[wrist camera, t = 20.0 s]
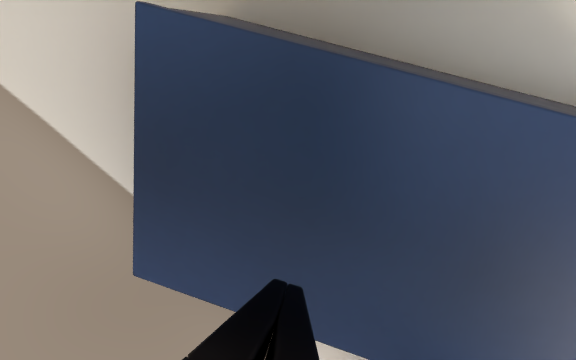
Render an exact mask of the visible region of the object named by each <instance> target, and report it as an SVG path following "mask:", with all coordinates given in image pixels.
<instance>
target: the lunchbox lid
mask: <svg viewBox="0 0 576 360" xmlns="http://www.w3.org/2000/svg"><path fill="white" fill-rule="evenodd" d="M133 217H134V218H133V226H134V228H133V275H134V276H136V277H139V278H142V279H145V280H147V281H151V282H154V283H156V284H159V285H162V286H165V287H167V288H170V289H173V290H175V291H178V292H181V293H184V294H187V295H189V296H192V297H195V298H198V299H201V300H204V301H206V302H209V303H212V304H215V305H218V306H220V307H223V308H226V309H229V310H232V311H234V312H237V311H238V310H239V309H240V308H241V307H242V306H243V305H245V304H246V303H247V302H248V301H249V300H250V299H251V298H252V297H254V296H255V295H256V294H257V293H258V292H259V291H260V290H261V289H263V288H264V287H265V286H266V285H267V284H268V283H269V282H270V281H272V280H273V279H275V278H276V279H279V280H282V281H285V282H287V284H294V285H297V286H299V287H302V289H303V291H304V296H305V300H306V304H307V309H308V313H309V317H310V322H311V326H312V330H313V335H314V339H315V340H316V341H318V342H321V343H324V344H327V345H330V346H332V347H335V348H338V349H341V350H344V351H346V352H349V353H352V354H355V355H358V356H360V357H363V358H366V359H369V360H576V115H575V114H571V113H567V112H563V111H559V110H556V109H552V108H548V107H544V106H540V105H536V104H533V103H529V102H525V101H521V100H517V99H514V98H510V97H506V96H502V95H498V94H494V93H491V92H487V91H483V90H479V89H475V88H472V87H468V86H464V85H460V84H456V83H452V82H449V81H445V80H441V79H437V78H433V77H430V76H426V75H422V74H418V73H414V72H410V71H407V70H403V69H399V68H395V67H391V66H388V65H384V64H380V63H376V62H372V61H369V60H365V59H361V58H357V57H353V56H349V55H346V54H342V53H338V52H334V51H330V50H327V49H323V48H319V47H315V46H311V45H307V44H304V43H300V42H296V41H292V40H288V39H285V38H281V37H277V36H273V35H269V34H265V33H262V32H258V31H254V30H250V29H246V28H243V27H239V26H235V25H231V24H227V23H224V22H220V21H216V20H212V19H208V18H204V17H201V16H197V15H193V14H189V13H185V12H182V11H178V10H174V9H170V8H166V7H162V6H159V5H155V4H151V3H147V2H140V1H137V2H136V3H135V101H134V216H133ZM287 286H288V285H287ZM284 296H285V295H284Z"/></svg>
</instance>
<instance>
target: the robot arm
mask: <svg viewBox="0 0 576 360" xmlns="http://www.w3.org/2000/svg"><path fill="white" fill-rule="evenodd" d="M287 285H288V286H287ZM284 295H285V296H284ZM272 334H273V335H272ZM271 337H272V338H271ZM268 347H269V348H268ZM267 350H268V351H267ZM265 357H266V358H265ZM182 360H319V356H318V352H317V347H316V343H315V339H314V335H313V330H312V326H311V322H310V317H309V313H308V309H307V304H306V300H305V296H304V291H303V289H302V287H299V286H297V285H294V284H287V282H285V281H282V280H279V279H276V278H275V279H273V280H272V281H270V282H269V283H268V284H267V285H266V286H265V287H264V288H263V289H261V290H260V291H259V292H258V293H257V294H256V295H255V296H254V297H252V298H251V299H250V300H249V301H248V302H247V303H246V304H245V305H243V306H242V307H241V308H240V309H239V310H238V311H237V312H236V313H234V314H233V315H232V316H231V317H230V318H229V319H228V320H227V321H225V322H224V323H223V324H222V325H221V326H220V327H219V328H218V329H217V330H215V332H213V333H212V334H211V335H210V336H209V337H207V338H206V339H205V340H204V341H203V342H202V343H201V344H200V345H199V346H197V347H196V348H195V349H194V350H193V351H192V352H191V353H189V354H188V357H185V358H184V359H182Z"/></svg>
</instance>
